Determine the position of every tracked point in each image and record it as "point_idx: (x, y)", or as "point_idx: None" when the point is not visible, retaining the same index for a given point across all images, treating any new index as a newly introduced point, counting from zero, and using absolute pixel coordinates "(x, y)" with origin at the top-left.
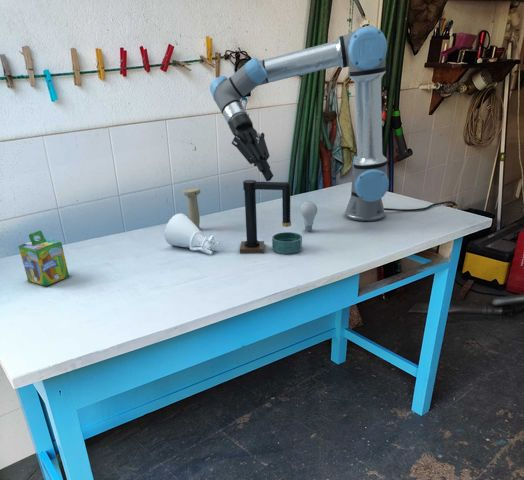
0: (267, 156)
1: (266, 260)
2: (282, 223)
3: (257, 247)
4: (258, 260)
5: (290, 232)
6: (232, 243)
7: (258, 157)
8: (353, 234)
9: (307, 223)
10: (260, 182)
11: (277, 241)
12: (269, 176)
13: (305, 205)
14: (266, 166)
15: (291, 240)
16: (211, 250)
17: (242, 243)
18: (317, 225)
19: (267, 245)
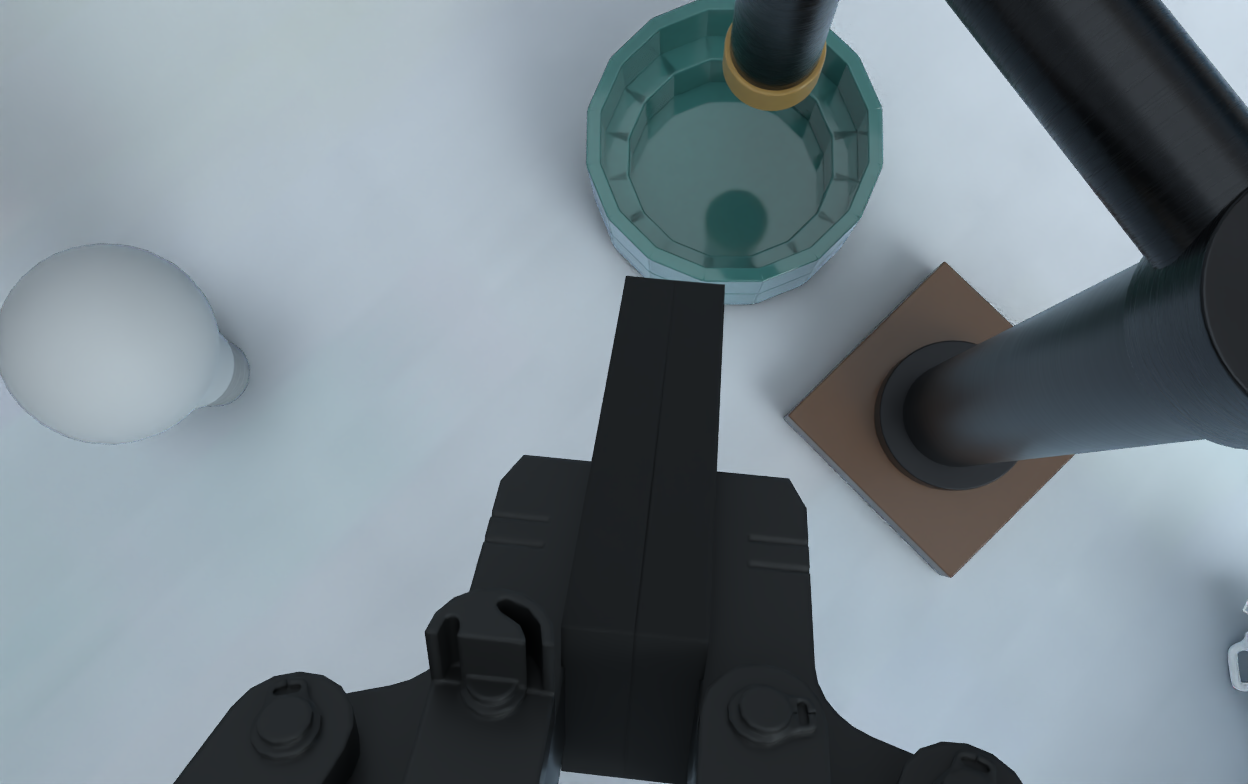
0: (343, 701)
1: (1031, 128)
2: (821, 69)
3: (957, 329)
4: (1081, 178)
5: (611, 207)
6: (965, 687)
7: (734, 768)
8: (39, 22)
9: (223, 343)
10: (1209, 82)
11: (881, 124)
12: (723, 305)
13: (142, 325)
14: (656, 452)
15: (636, 193)
16: (1246, 684)
17: (986, 519)
18: (30, 435)
19: (768, 390)
